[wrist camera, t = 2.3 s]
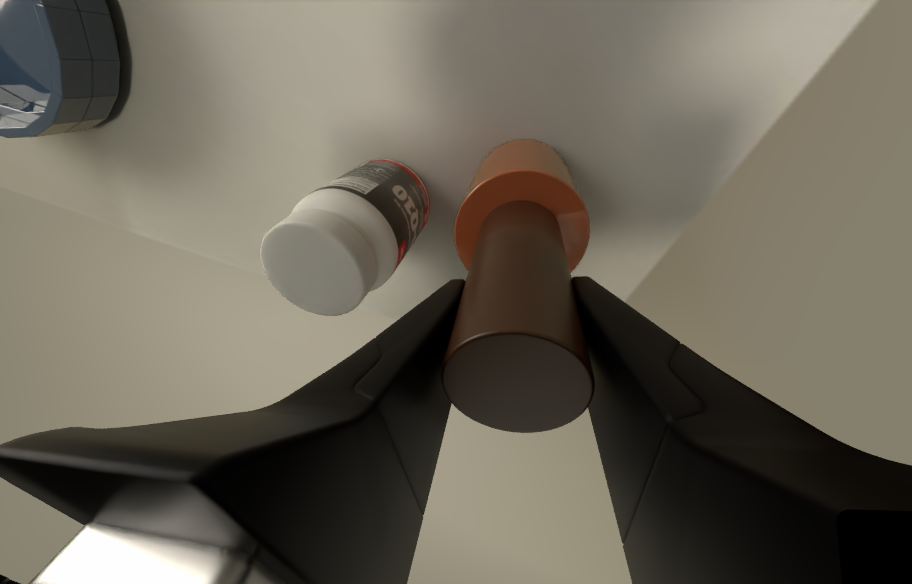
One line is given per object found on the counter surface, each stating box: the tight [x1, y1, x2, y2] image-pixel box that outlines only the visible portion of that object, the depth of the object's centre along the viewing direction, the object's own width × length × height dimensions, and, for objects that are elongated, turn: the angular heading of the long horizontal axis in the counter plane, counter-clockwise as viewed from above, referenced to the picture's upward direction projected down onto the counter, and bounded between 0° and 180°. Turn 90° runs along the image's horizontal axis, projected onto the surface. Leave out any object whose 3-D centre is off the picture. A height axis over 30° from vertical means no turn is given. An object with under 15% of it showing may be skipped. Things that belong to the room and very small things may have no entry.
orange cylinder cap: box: [454, 139, 590, 273], centre depth 14 cm, size 5×5×6 cm
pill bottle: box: [260, 159, 429, 316], centre depth 15 cm, size 5×5×8 cm
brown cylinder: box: [441, 200, 595, 433], centre depth 9 cm, size 3×3×7 cm
